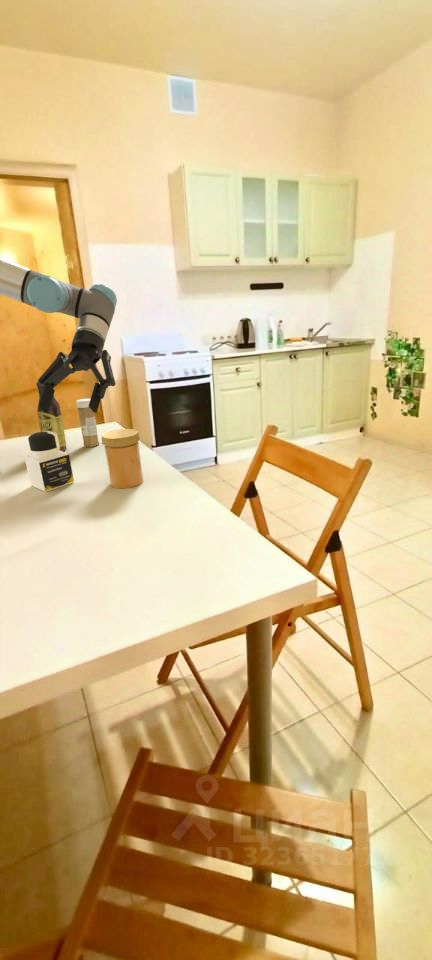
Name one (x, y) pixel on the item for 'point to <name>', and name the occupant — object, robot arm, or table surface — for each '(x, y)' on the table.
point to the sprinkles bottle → (87, 423)
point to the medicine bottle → (48, 462)
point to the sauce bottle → (52, 419)
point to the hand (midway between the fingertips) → (67, 409)
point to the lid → (120, 437)
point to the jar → (124, 466)
